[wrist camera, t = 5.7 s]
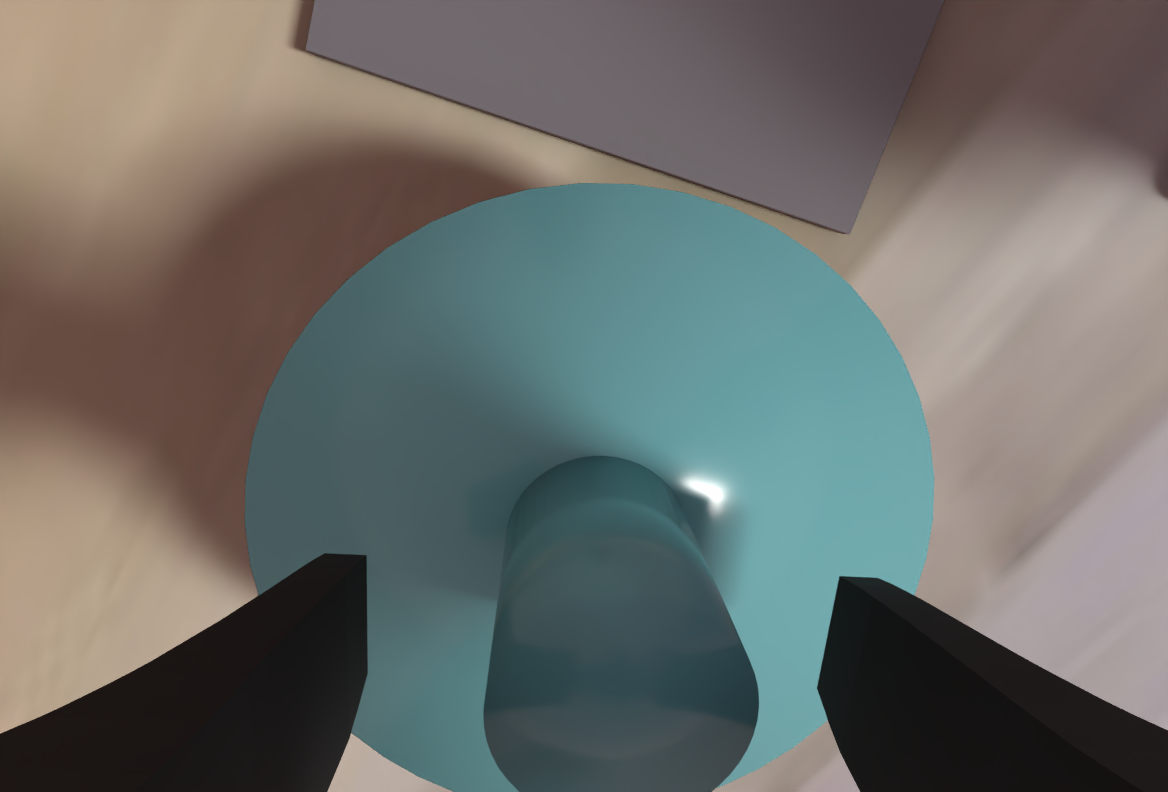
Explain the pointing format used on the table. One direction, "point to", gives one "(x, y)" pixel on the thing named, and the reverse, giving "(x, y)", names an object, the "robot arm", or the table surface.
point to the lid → (593, 486)
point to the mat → (667, 81)
